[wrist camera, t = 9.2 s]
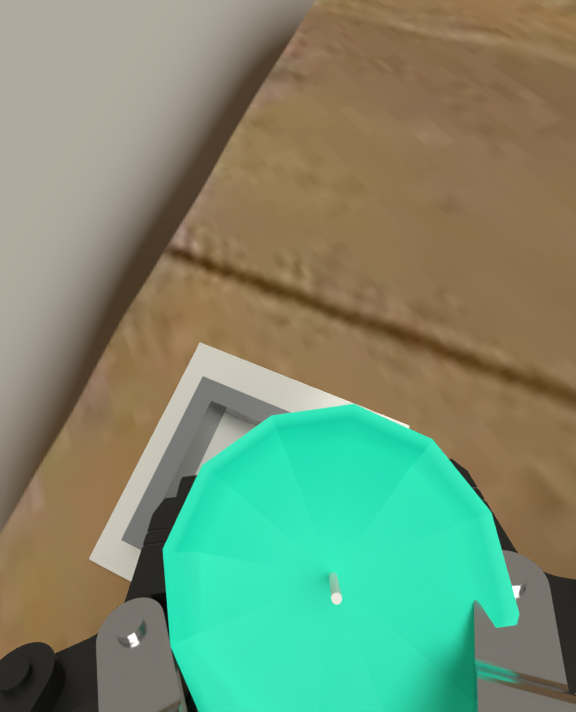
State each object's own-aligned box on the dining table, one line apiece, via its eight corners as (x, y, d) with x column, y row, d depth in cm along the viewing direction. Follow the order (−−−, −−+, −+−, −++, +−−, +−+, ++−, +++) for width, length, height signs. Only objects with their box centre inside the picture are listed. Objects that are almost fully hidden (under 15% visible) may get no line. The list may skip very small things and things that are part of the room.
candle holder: (204, 347, 34) (184, 322, 29) (406, 428, 30) (421, 415, 26) (97, 557, 29) (54, 567, 25) (319, 675, 26) (318, 712, 22)
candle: (264, 451, 18) (174, 359, 7) (409, 473, 18) (564, 409, 6) (237, 611, 17) (57, 829, 5) (399, 642, 16) (591, 973, 5)
